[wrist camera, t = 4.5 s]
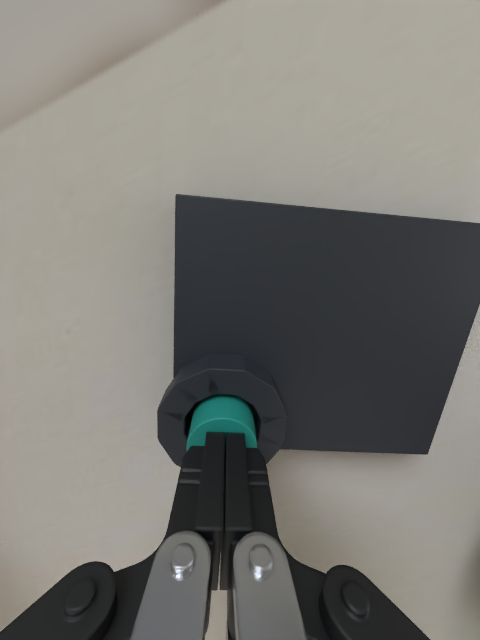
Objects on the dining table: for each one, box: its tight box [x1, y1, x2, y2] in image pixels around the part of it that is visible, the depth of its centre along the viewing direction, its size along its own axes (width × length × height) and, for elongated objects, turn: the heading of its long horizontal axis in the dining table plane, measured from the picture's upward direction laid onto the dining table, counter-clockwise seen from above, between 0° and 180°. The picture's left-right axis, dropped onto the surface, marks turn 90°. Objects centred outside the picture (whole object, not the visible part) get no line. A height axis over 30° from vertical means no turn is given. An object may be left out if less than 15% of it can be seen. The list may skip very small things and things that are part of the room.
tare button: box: [187, 394, 257, 453], centre depth 11 cm, size 3×3×2 cm
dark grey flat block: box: [157, 194, 480, 467], centre depth 12 cm, size 14×12×4 cm
